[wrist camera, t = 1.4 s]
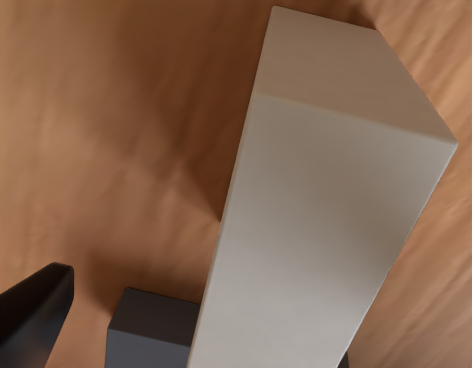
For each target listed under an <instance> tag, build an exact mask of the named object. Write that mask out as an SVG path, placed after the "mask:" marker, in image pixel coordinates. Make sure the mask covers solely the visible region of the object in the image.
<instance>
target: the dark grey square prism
mask: <svg viewBox="0 0 472 368" xmlns="http://www.w3.org/2000/svg"><path fill="white" fill-rule="evenodd" d="M200 307H201V305H199V304H195V303H190V302H186V301H182V300H178V299H173V298H169V297H165V296H161V295H156V294H152V293H148V292H144V291H139V290H135V289H131V288H125V290H124V292H123V295H122V297H121V299H120V301H119V303H118V306H117V308H116V310H115V312H114V315H113V317H112V319H111V321H110V323H109V326H108V328H107V341H106V355H105V368H186V366H187V362H188V358H189V354H190V349H191V345H192V341H193V337H194V333H195V328H196V324H197V320H198V316H199V312H200ZM337 368H349V363H348V354H347V350H346V352H345V354H344V356H343V358H342V359H341V361H340V363H339V365H338V367H337Z"/></svg>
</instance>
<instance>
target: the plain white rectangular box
mask: <svg viewBox="0 0 472 368" xmlns="http://www.w3.org/2000/svg"><path fill="white" fill-rule="evenodd" d="M457 147H458V140H457V138H456V137H455V136H454V134H453V133H452V131H451V130H450V129H449V127H448V126H447V125H446V123H445V122H444V120H443V119H442V118H441V116H440V115H439V113H438V112H437V111H436V109H435V108H434V106H433V105H432V104H431V102H430V101H429V100H428V98H427V97H426V95H425V94H424V93H423V91H422V90H421V88H420V87H419V86H418V84H417V83H416V82H415V80H414V79H413V77H412V76H411V75H410V73H409V72H408V70H407V69H406V68H405V66H404V65H403V64H402V62H401V61H400V59H399V58H398V57H397V55H396V54H395V52H394V51H393V50H392V48H391V47H390V45H389V44H388V43H387V41H386V40H385V39H384V37H383V36H382V34H381V33H380V32H379V31H377V30H373V29H369V28H365V27H361V26H357V25H353V24H349V23H345V22H341V21H337V20H332V19H328V18H324V17H320V16H316V15H312V14H308V13H304V12H300V11H296V10H292V9H287V8H283V7H279V6H273V7H272V10H271V14H270V18H269V23H268V27H267V31H266V35H265V39H264V44H263V48H262V52H261V56H260V60H259V64H258V69H257V73H256V77H255V81H254V85H253V90H252V94H251V98H250V102H249V106H248V111H247V115H246V119H245V123H244V127H243V131H242V136H241V140H240V144H239V148H238V152H237V157H236V161H235V165H234V169H233V173H232V178H231V182H230V186H229V190H228V194H227V198H226V203H225V207H224V211H223V215H222V219H221V224H220V228H219V232H218V236H217V240H216V245H215V249H214V253H213V257H212V261H211V266H210V270H209V274H208V278H207V282H206V286H205V291H204V295H203V299H202V303H201V307H200V312H199V316H198V320H197V324H196V328H195V333H194V337H193V341H192V345H191V349H190V354H189V358H188V362H187V366H186V368H337V367H338V365H339V363H340V361H341V359H342V358H343V356H344V354H345V352H346V350H347V348H348V347H349V345H350V343H351V341H352V339H353V337H354V336H355V334H356V332H357V330H358V328H359V326H360V325H361V323H362V321H363V319H364V317H365V315H366V314H367V312H368V310H369V308H370V306H371V304H372V303H373V301H374V299H375V297H376V295H377V293H378V292H379V290H380V288H381V286H382V284H383V282H384V281H385V279H386V277H387V275H388V273H389V272H390V270H391V268H392V266H393V264H394V262H395V261H396V259H397V257H398V255H399V253H400V251H401V250H402V248H403V246H404V244H405V242H406V240H407V239H408V237H409V235H410V233H411V231H412V229H413V228H414V226H415V224H416V222H417V220H418V218H419V217H420V215H421V213H422V211H423V209H424V207H425V206H426V204H427V202H428V200H429V198H430V196H431V195H432V193H433V191H434V189H435V187H436V185H437V184H438V182H439V180H440V178H441V176H442V174H443V173H444V171H445V169H446V167H447V165H448V163H449V162H450V160H451V158H452V156H453V154H454V152H455V151H456V149H457Z"/></svg>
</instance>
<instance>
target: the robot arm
mask: <svg viewBox="0 0 472 368" xmlns="http://www.w3.org/2000/svg"><path fill="white" fill-rule="evenodd" d="M73 298H74V268H73V267H72V266H70V265H66V264H62V263H57V262H54V263H51V264H49V265H47V266H45V267H44V268H42V269H41V270H39V271H37V272H36V273H34V274H32V275H31V276H29V277H28V278H26V279H24V280H23V281H21V282H19V283H18V284H16V285H15V286H13V287H11V288H10V289H8V290H6V291H5V292H3V293H1V294H0V368H44V367H45V365H46V362H47V360H48V358H49V355H50V353H51V351H52V349H53V346H54V344H55V342H56V339H57V337H58V335H59V333H60V330H61V328H62V326H63V323H64V321H65V319H66V316H67V314H68V312H69V310H70V307H71V305H72V302H73Z"/></svg>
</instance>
